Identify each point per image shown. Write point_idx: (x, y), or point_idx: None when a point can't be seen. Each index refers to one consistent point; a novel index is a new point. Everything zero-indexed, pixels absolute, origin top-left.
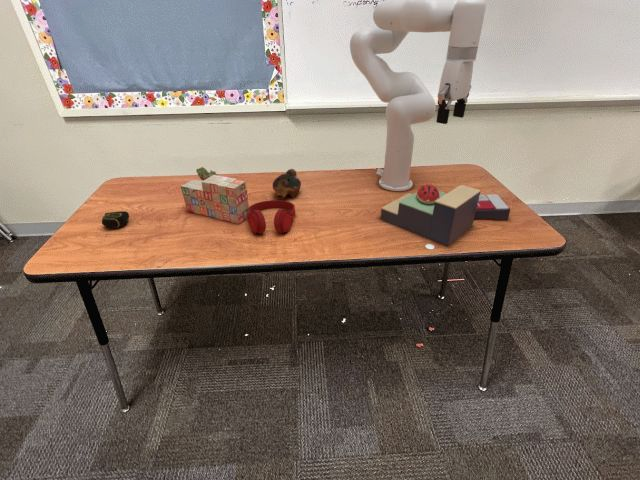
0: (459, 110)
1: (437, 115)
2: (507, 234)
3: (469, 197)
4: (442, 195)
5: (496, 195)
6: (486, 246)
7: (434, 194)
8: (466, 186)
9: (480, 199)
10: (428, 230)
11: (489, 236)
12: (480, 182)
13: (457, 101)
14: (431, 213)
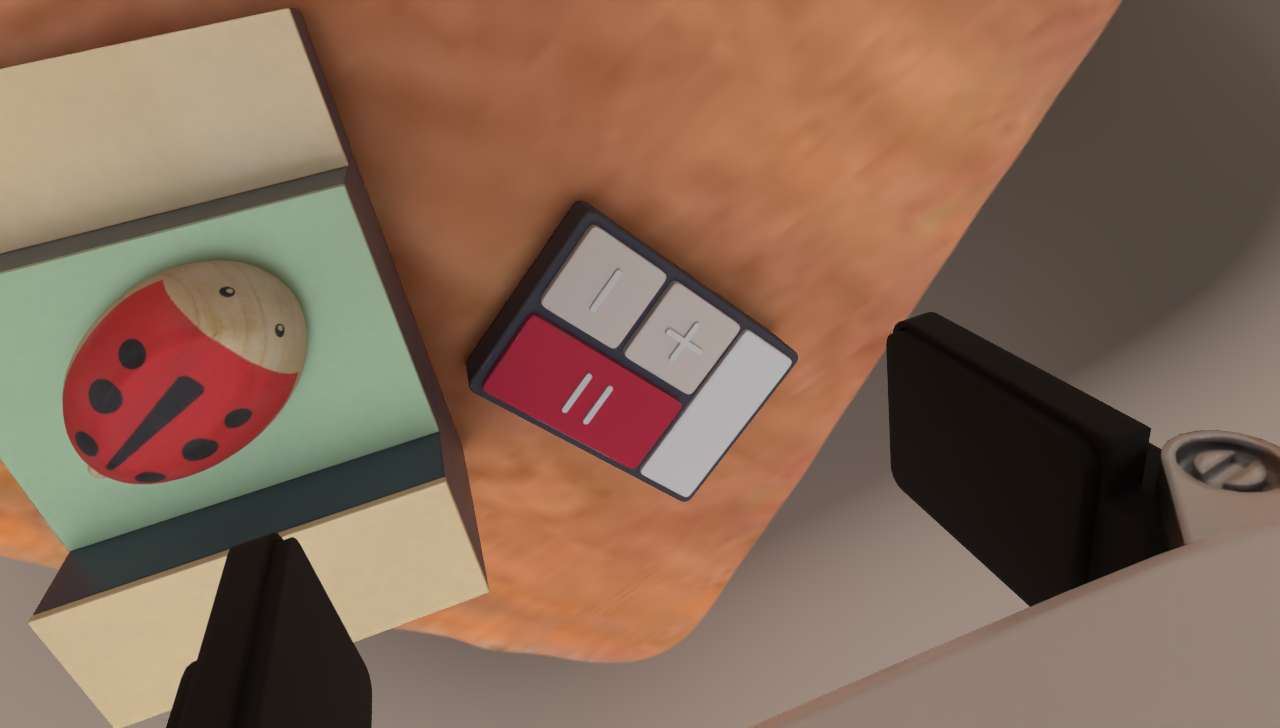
0: (964, 485)
1: (202, 649)
2: (551, 555)
3: None
4: (350, 370)
5: (775, 370)
6: None
7: (160, 480)
8: (451, 520)
9: (663, 364)
10: None
11: None
12: (984, 74)
13: (1157, 479)
14: (64, 544)
